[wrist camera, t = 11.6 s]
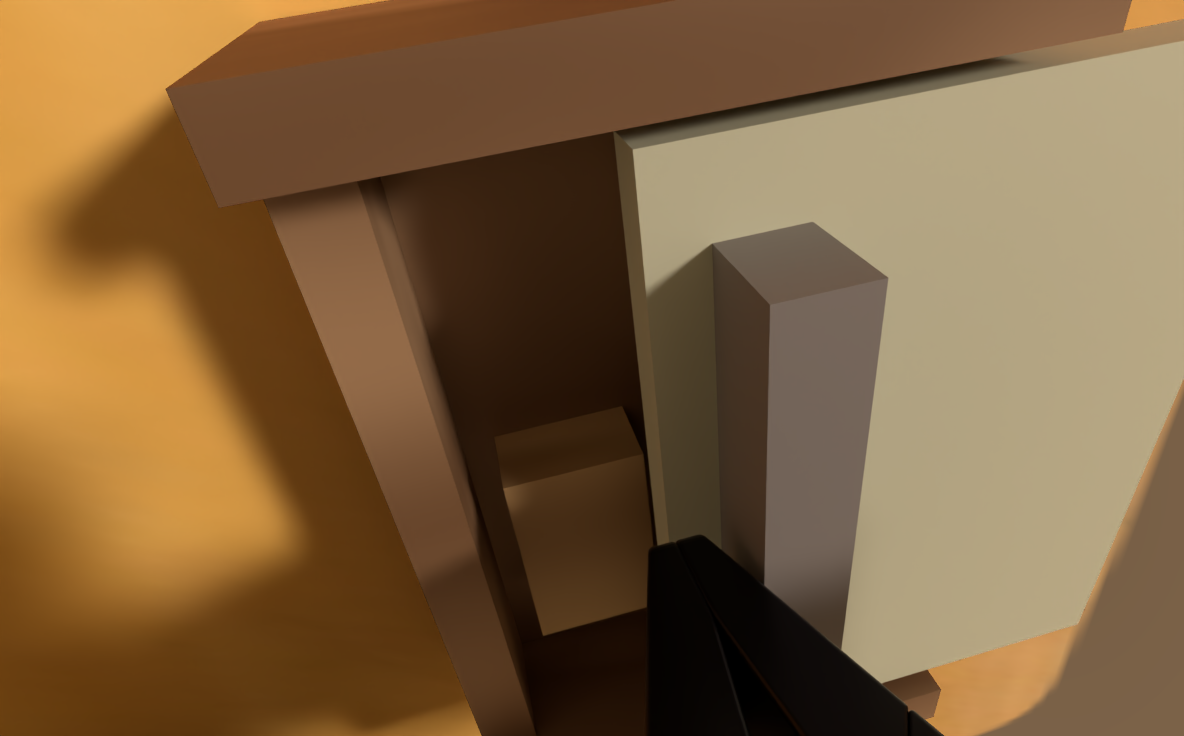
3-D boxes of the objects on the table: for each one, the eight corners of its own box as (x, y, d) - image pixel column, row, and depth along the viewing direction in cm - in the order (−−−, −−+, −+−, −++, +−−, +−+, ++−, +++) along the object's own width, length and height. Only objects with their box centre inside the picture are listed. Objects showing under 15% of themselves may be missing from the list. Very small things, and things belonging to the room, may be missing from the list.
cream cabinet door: (1048, 593, 15) (1140, 690, 13) (674, 703, 14) (716, 824, 12) (1271, 1, 9) (1514, 25, 7) (613, 130, 8) (680, 199, 6)
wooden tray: (827, 556, 18) (933, 716, 14) (484, 651, 17) (506, 849, 13) (889, -83, 10) (1154, -83, 7) (259, 21, 9) (166, 89, 6)
